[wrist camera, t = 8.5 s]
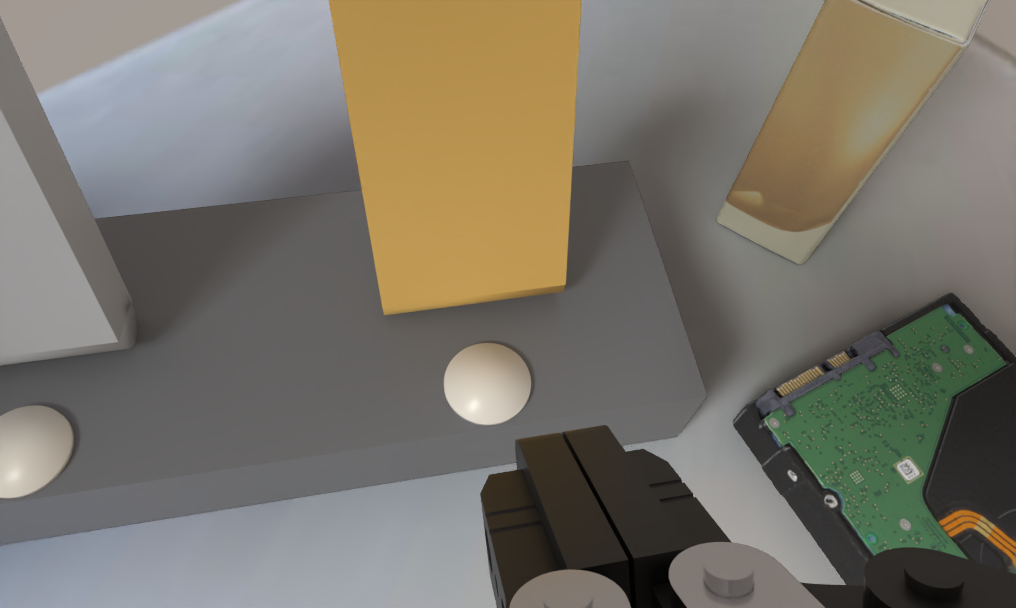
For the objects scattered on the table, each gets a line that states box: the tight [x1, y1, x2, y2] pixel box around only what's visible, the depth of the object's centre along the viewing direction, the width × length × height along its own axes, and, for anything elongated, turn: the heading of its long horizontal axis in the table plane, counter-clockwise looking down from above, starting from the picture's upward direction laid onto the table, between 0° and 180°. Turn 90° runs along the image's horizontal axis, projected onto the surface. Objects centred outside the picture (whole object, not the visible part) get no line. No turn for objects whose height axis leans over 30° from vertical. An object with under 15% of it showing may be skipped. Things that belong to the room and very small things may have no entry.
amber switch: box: [329, 0, 581, 315], centre depth 21 cm, size 6×2×11 cm, turn 100°
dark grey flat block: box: [0, 161, 707, 545], centre depth 26 cm, size 28×10×4 cm, turn 100°
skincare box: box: [716, 0, 990, 264], centre depth 28 cm, size 6×4×12 cm
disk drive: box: [733, 293, 1016, 586], centre depth 25 cm, size 10×3×15 cm
